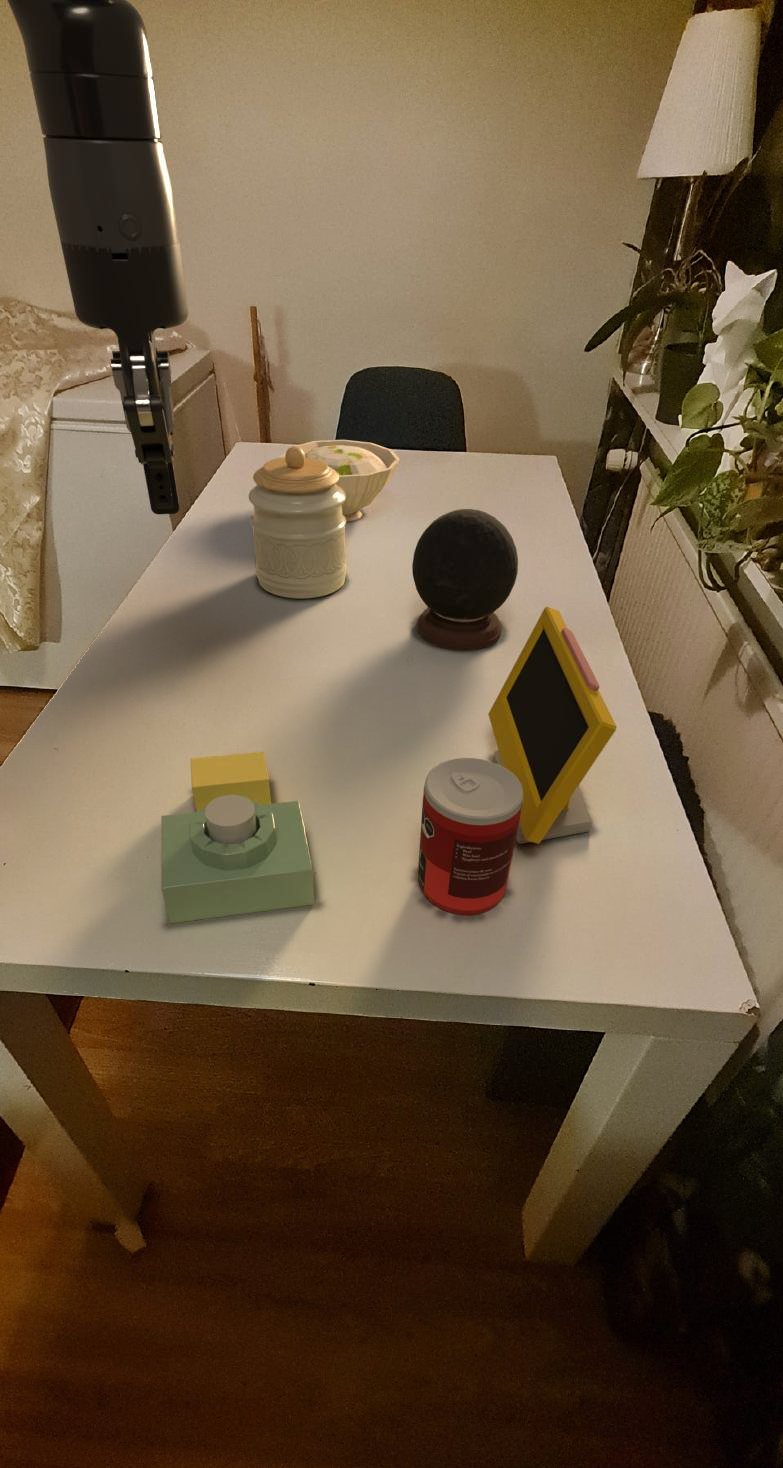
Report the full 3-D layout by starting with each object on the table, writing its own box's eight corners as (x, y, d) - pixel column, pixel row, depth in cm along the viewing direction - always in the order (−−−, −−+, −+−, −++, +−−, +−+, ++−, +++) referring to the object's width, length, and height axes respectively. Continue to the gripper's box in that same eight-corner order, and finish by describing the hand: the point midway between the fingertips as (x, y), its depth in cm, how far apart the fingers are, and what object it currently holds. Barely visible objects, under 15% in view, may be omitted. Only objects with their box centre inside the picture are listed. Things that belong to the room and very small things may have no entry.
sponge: (198, 820, 73) (191, 787, 70) (196, 791, 76) (190, 758, 73) (272, 812, 74) (268, 779, 71) (267, 783, 77) (264, 751, 74)
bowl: (313, 543, 121) (311, 475, 114) (266, 503, 133) (261, 440, 126) (419, 524, 128) (422, 459, 121) (365, 488, 140) (365, 427, 133)
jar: (237, 582, 110) (222, 447, 98) (298, 555, 118) (291, 426, 106) (305, 609, 105) (298, 470, 93) (364, 579, 112) (365, 446, 100)
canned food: (446, 843, 72) (456, 745, 64) (522, 879, 68) (542, 781, 61) (399, 890, 67) (404, 791, 59) (477, 931, 64) (494, 832, 56)
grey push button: (209, 847, 62) (205, 828, 61) (207, 816, 65) (203, 797, 63) (258, 842, 63) (256, 823, 61) (254, 810, 66) (252, 792, 64)
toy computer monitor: (484, 741, 84) (503, 602, 73) (554, 739, 84) (584, 602, 73) (519, 869, 69) (549, 720, 58) (604, 866, 70) (649, 719, 59)
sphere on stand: (503, 660, 96) (521, 538, 86) (400, 647, 98) (405, 526, 88) (512, 613, 106) (529, 499, 95) (418, 602, 107) (425, 488, 97)
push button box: (170, 923, 64) (157, 871, 59) (169, 850, 70) (157, 799, 66) (314, 904, 66) (311, 853, 61) (301, 835, 72) (297, 784, 68)
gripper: (67, 223, 54) (121, 485, 66) (48, 245, 45) (114, 545, 57) (177, 224, 55) (210, 481, 67) (180, 247, 46) (217, 540, 58)
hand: (166, 510), depth 62 cm, fingers closed
